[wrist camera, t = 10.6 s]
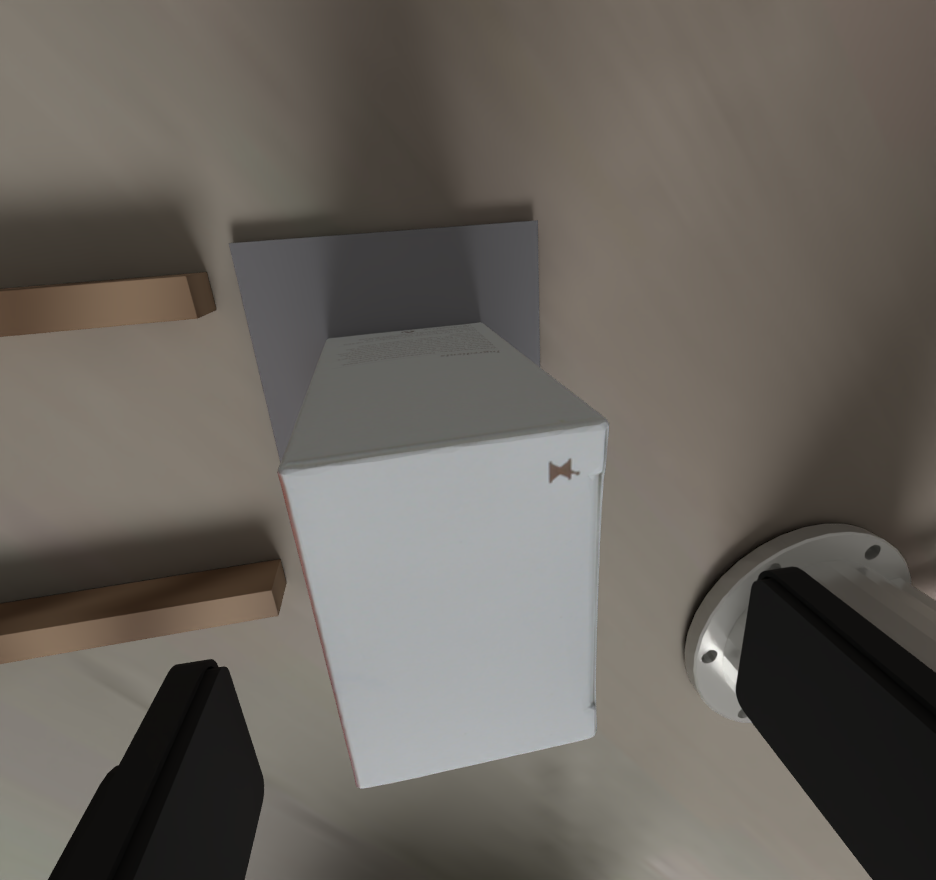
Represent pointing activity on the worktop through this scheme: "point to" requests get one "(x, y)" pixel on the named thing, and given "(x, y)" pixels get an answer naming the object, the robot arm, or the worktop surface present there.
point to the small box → (448, 547)
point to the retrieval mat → (380, 295)
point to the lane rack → (146, 602)
